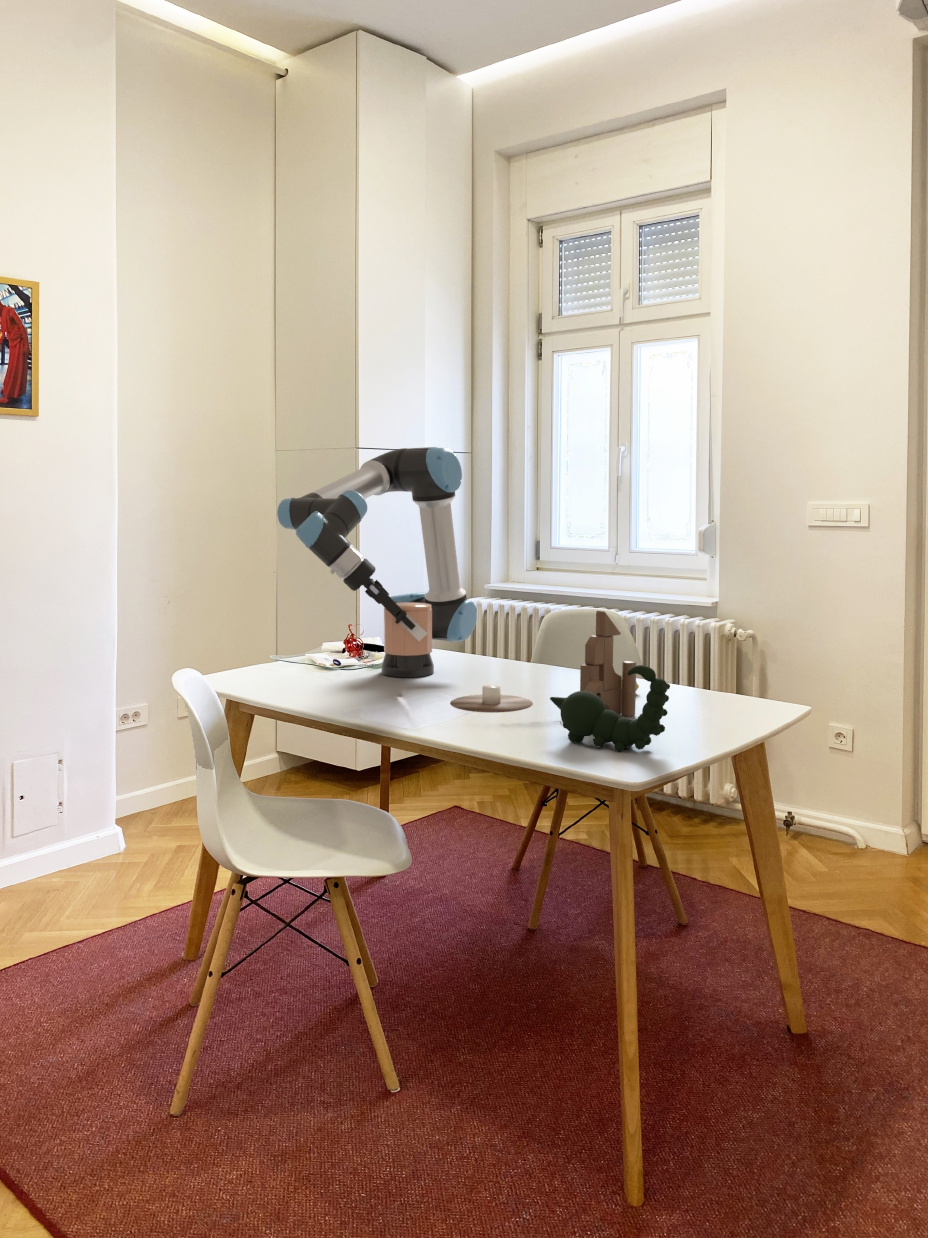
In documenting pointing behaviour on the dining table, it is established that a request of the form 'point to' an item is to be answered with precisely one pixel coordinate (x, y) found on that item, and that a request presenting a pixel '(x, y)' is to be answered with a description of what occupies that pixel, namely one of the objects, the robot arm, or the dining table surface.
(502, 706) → the walnut board
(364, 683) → the dining table surface
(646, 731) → the toy figurine
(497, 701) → the ivory rounded cylinder
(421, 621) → the tan domed cylinder
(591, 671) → the wooden toy
